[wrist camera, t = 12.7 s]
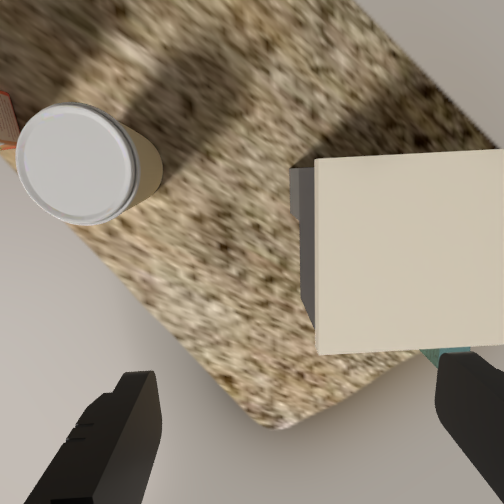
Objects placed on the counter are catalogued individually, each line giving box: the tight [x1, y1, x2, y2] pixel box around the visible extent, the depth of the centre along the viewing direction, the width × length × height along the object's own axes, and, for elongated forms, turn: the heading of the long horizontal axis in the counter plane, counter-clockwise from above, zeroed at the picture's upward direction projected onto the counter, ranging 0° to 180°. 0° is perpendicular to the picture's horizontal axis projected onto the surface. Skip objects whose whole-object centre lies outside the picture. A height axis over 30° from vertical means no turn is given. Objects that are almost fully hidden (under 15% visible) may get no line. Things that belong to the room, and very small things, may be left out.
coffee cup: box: [16, 102, 163, 226], centre depth 30 cm, size 9×9×12 cm
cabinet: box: [289, 149, 504, 355], centre depth 30 cm, size 15×17×17 cm
